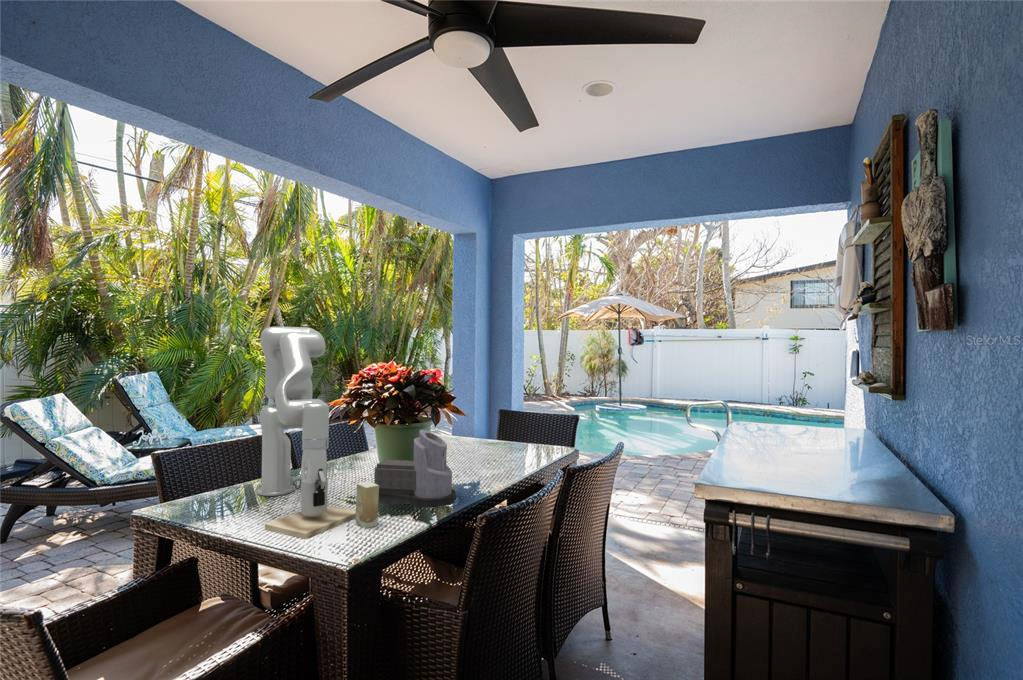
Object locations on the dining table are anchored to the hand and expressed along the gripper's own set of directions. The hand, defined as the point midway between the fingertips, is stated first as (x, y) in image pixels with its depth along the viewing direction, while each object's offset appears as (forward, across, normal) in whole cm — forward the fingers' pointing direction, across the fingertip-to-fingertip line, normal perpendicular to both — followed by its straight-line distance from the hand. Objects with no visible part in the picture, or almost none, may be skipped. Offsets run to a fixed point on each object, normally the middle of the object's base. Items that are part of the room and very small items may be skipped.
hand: (314, 501), depth 163 cm
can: (+4, 0, 0) cm, 4 cm away
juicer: (+7, -3, +36) cm, 37 cm away
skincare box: (+6, +11, +12) cm, 18 cm away
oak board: (+6, 0, 0) cm, 6 cm away
